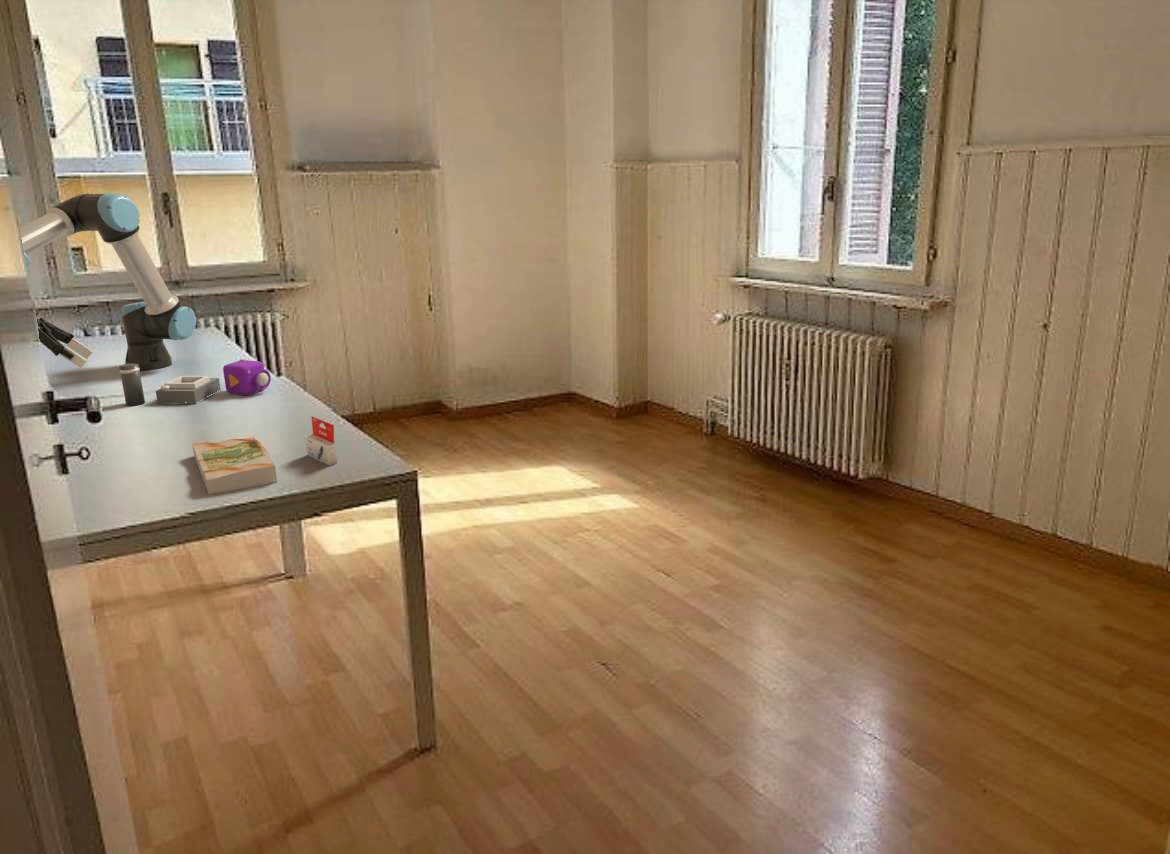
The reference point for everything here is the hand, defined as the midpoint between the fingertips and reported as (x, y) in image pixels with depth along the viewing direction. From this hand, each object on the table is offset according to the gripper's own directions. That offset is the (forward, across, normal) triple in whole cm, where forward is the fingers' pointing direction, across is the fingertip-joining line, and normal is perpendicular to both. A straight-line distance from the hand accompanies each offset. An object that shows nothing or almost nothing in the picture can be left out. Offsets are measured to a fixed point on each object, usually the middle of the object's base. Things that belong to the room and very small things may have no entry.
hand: (87, 359), depth 255 cm
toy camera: (+42, 0, +20) cm, 46 cm away
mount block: (+29, -2, +8) cm, 30 cm away
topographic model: (+37, +75, +15) cm, 86 cm away
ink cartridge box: (+51, +77, +30) cm, 97 cm away
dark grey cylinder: (+18, 0, -3) cm, 18 cm away
